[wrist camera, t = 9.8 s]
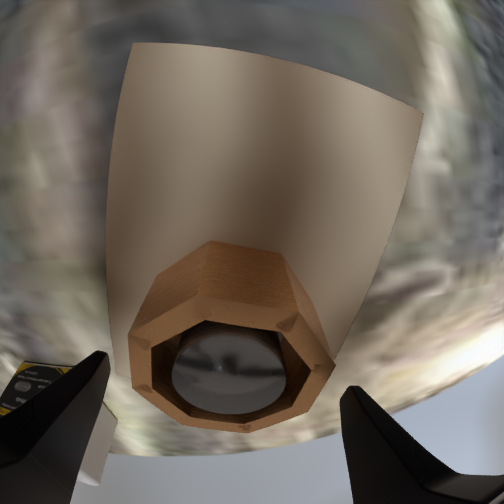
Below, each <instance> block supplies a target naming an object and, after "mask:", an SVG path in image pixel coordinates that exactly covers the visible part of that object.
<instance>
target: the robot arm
mask: <svg viewBox="0 0 504 504" xmlns="http://www.w3.org/2000/svg"><path fill="white" fill-rule="evenodd" d="M110 370H111V368H110V362H109V356H108V354H107V353H106V352H103V351H99V350H97V351H95V352H94V353H92V354H91V355H89V356H88V357H87V358H85V359H84V360H82V361H81V362H80V363H78V364H77V365H76V366H74V367H73V368H71V369H70V370H69V371H67V372H66V373H64V374H63V375H62V376H60V377H59V378H57V379H56V380H55V381H53V382H52V383H51V384H49V385H48V386H46V387H45V388H44V389H42V390H41V391H39V392H38V393H37V394H35V395H34V396H33V397H32V398H30V399H28V400H27V401H26V402H24V403H23V404H21V405H20V406H18V407H17V408H15V409H14V410H12V411H10V412H9V413H7V414H5V415H3V416H2V417H0V504H70V501H71V497H72V493H73V490H74V486H75V483H76V480H77V476H78V473H79V470H80V467H81V463H82V460H83V457H84V454H85V451H86V448H87V445H88V442H89V439H90V437H91V434H92V431H93V428H94V425H95V423H96V420H97V417H98V415H99V412H100V409H101V406H102V402H103V398H104V394H105V390H106V386H107V383H108V379H109V375H110ZM340 415H341V428H342V437H343V443H344V449H345V454H346V460H347V465H348V472H349V478H350V484H351V490H352V497H353V504H504V475H499V476H491V475H490V476H489V475H488V476H487V475H466V474H460V473H457V472H455V471H454V470H452V469H451V468H449V467H448V466H447V465H445V464H444V463H443V462H441V461H440V460H438V459H437V458H436V457H435V456H433V455H432V454H431V453H430V452H428V451H427V450H426V449H425V448H424V447H423V446H422V445H420V444H419V443H418V442H417V441H416V440H414V438H413V437H412V436H411V435H410V434H409V433H408V432H406V431H405V430H404V429H403V428H402V427H401V426H400V425H399V424H398V423H397V422H396V421H395V420H394V419H393V418H392V417H391V416H390V415H389V414H388V413H387V412H386V411H385V410H384V409H383V408H382V407H381V406H379V405H378V404H377V403H376V402H375V401H374V400H373V399H372V398H371V397H370V396H369V395H368V394H367V393H366V392H365V391H364V390H363V389H362V388H361V387H360V386H349V387H348V388H347V389H346V391H345V392H344V394H343V395H342V397H341V399H340Z"/></svg>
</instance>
